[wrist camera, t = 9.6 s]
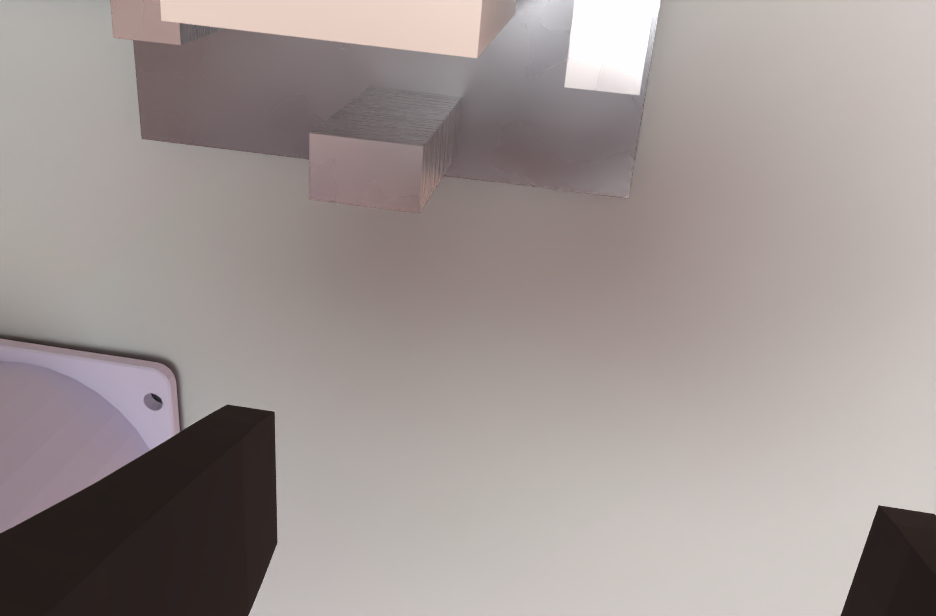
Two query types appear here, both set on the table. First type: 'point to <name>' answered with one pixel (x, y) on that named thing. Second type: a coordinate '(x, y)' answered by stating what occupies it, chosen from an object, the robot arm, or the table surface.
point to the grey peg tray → (409, 101)
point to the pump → (358, 21)
